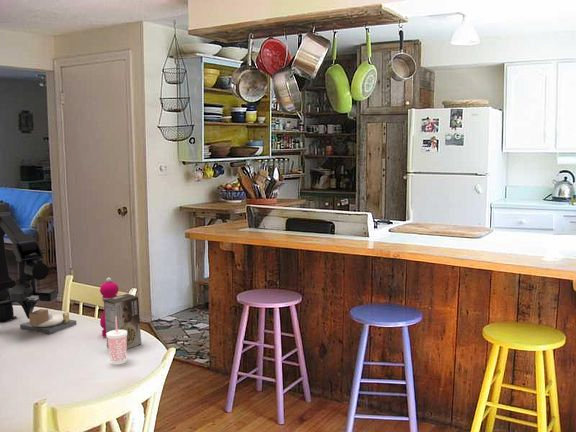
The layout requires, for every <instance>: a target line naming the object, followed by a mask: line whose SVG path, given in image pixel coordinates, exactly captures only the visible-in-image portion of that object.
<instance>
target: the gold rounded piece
mask: <svg viewBox="0 0 576 432" xmlns="http://www.w3.org/2000/svg"><path fill="white" fill-rule="evenodd" d="M62 315H63V323H64V324H68V323H69V319H70V313H69V312H63V313H62Z"/></svg>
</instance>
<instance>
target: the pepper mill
mask: <svg viewBox="0 0 576 432" xmlns="http://www.w3.org/2000/svg"><path fill="white" fill-rule="evenodd" d="M99 292H100V294H101V296H102V297H101V300H102V302H103V303H104V300H105V299H109V298H113V297H116V296H118V295H117V294H118V292H119V286H118V284H117V283H116V282H113V281H112V278H111V277H107V278H106V279H105V282H104V283H102V284H101V286H100V287H99ZM99 325H100V327H101V328H102V330H101V334H102V337H104V338H107V337H106V322H105V307H104V306H103V312H102V314H101V317H100V322H99Z"/></svg>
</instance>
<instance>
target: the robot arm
mask: <svg viewBox="0 0 576 432" xmlns="http://www.w3.org/2000/svg"><path fill="white" fill-rule="evenodd" d="M5 236H7V237H8V238H9V241H11V243H12V244H11V250H12V253H13V255H14V256H15V261H16V262H17V277H18V278H16V280H15V279H13V278H12V277H10V273H9V266H8V258H7V252H6V244H5ZM43 254H44V253H43V251H42V248H41V247H40V245H39V243H38V241H37V240H36V239H35V238H34V237H33V236H32V235H30V234H28V233H25V232H24V231H23V230H22V228H21V227H20V226H19V224H18V223H17V222H16V220H15V219H14V218H13V215H12V212H9V211H3V212H0V323H5V322H9V321H12V320H15V319H17V318H18V316H15V314H14V307H13V306H14V305H13V303H18V305H19V304H20V307H21V308H22V309H23V312H24V314H25V316H26V318H27V319H28V320H30V319H29V314H30V313H32V312H34V311H33V310H34V308H35V306H36V304H37V303H38V301H41V302H51V301H53V300H55V299H57V298H58V292H57V290H56V289H48V288H47V289H43V290H42V291H39V287H37V281H42V280H45V279H46V278H47V277H48V275H49V273H50V272H49V271H50V269H49V267H48V265H47V264H45V263H44V262H43V258H44V256H43Z"/></svg>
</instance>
